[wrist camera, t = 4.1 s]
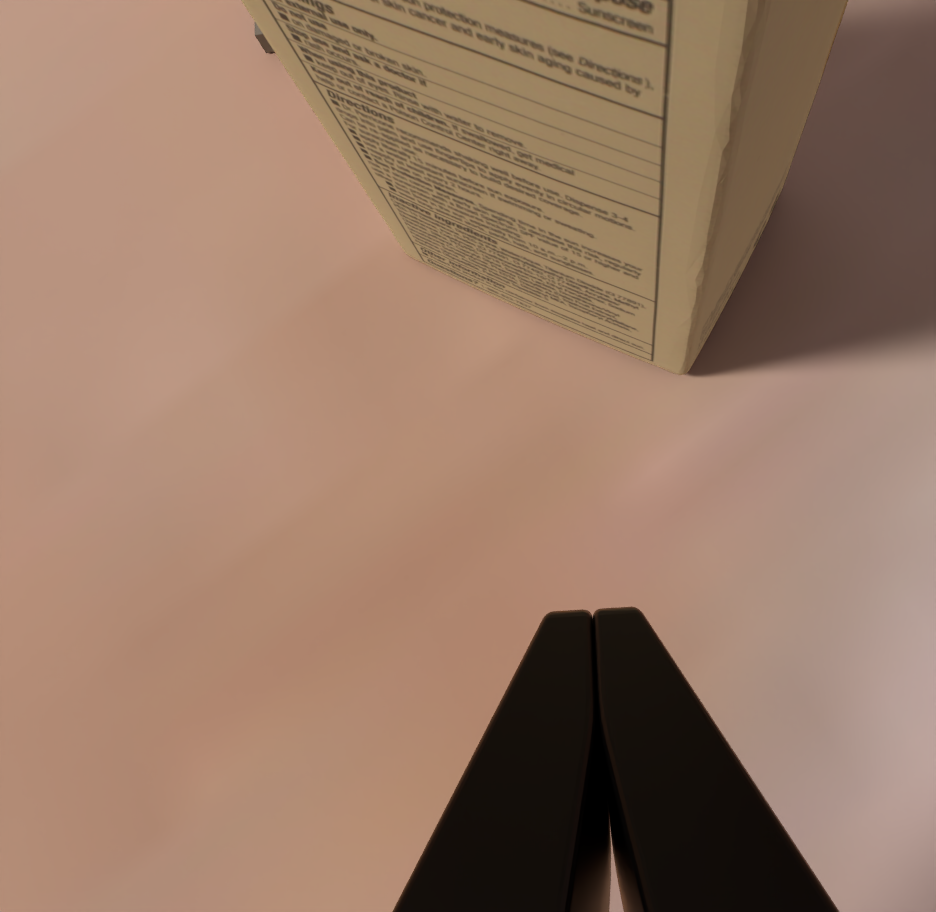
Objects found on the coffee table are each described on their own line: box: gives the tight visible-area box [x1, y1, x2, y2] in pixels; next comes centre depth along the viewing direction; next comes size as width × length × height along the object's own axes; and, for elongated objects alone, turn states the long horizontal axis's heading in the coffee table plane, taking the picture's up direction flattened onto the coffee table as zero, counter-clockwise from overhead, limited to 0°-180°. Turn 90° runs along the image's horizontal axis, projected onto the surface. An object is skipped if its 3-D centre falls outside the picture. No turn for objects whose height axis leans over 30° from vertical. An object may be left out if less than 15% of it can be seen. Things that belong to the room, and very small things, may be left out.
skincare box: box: [241, 0, 848, 375], centre depth 11 cm, size 6×4×12 cm
